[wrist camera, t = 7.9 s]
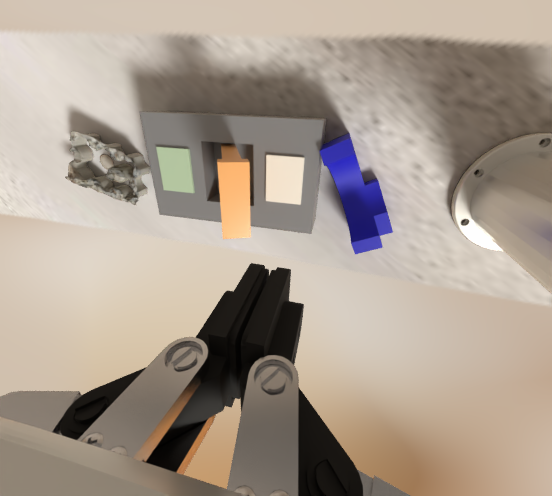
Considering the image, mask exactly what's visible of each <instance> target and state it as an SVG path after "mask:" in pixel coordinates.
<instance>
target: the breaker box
mask: <svg viewBox="0 0 552 496" xmlns="http://www.w3.org/2000/svg"><path fill="white" fill-rule="evenodd" d="M140 116H141V121H142V127H143V132H144V137H145V142H146V147H147V152H148V157H149V162H150V167H151V173H152V178H153V183H154V188H155V193H156V198H157V203H158V208H159V213H160V215H168V216H175V217H183V218H191V219H199V220H207V221H215V222H222V219H221V205H220V192H219V178H218V164H217V159H222V152H221V144H235V145H236V147H237V150H238V152H239V154H240V156H241V159H248V160H249V163H250V225H251V226H254V227H262V228H270V229H277V230H285V231H293V232H301V233H309V234H311V233H312V229H313V225H314V221H315V217H316V208H317V199H318V190H319V182H320V173H321V164H322V157H321V154H320V149H321V148H322V146H323V144H324V137H325V128H326V120H327V118H307V117H285V116H262V115H240V114H217V113H195V112H172V111H151V112H140Z"/></svg>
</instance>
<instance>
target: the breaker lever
mask: <svg viewBox="0 0 552 496" xmlns="http://www.w3.org/2000/svg"><path fill="white" fill-rule="evenodd" d="M221 152H222V159H217V164H218V178H219V192H220V205H221V219H222V232H223V239H231V238H248V237H251V225H250V163H249V160H248V159H241V156H240V154H239V152H238V150H237V147H236V145H235V144H221Z"/></svg>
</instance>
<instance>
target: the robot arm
mask: <svg viewBox="0 0 552 496" xmlns="http://www.w3.org/2000/svg"><path fill="white" fill-rule="evenodd" d="M541 140H542V142H541V143H540V141H541ZM539 143H540V144H539ZM476 170H478V171H477V173H476V174H474V172H475V171H476ZM451 209H452V217H453V220H454V222H455V225H456V226H457V228H458V229H459V231H460V232H461V233H462V234H463V235H464V236H465V237H466V238H467V239H468V240H470V241H471V242H472V243H474V244H476V245H478V246H480V247H483V248H486V249H490V250H495V251H504V252H506V253H507V254H508V255H509V256H510V257H511V258H512V259H513V260H514V261H516V262H517V263H518V264H519V265H520V266H521V267H522V268H523V269H525V270H526V271H527V272H528V273H529V274H530V275H531V276H532V277H533V278H535V279H536V280H537V281H538V282H539V283H540V284H541V285H542V286H544V287H545V288H546V289H547V290H548V291H549V292H550V293H551V294H552V133H536V134H530V135H524V136H521V137H518V138H514V139H511V140H508V141H506V142H504V143H502V144H500V145H498V146H496V147H494V148H493V149H491V150H490V151H488V152H487V153H485V154H484V155H482V156H481V157H480V158H479V159H478V160H476V161H475V162H474V163H473V164H472V165H471V166H470V167H469V168H468V170H467V171H466V172H465V173H464V174H463V176H462V177H461V179H460V181H459V183H458V184H457V186H456V189H455V191H454V194H453V198H452V205H451ZM463 219H464V220H463ZM461 220H463V221H461ZM290 276H291V270H290V269H285V268H279V267H278V268H277V269H276V270H272V271H271V273H270V275H269V270H268V269H265V266H264V265H259V264H253V263H251V264H250V265H249V267H248V269H247V271H246V272H245V274H244V275H243V277H242V279H241V280H240V282H239V284H238V285H237V287H236V289H235V290H234V292H233V291H226V292H225V293H224V295H223V296H222V298H221V299H220V301H219V302H218V304H217V306H216V307H215V309H214V310H213V312H212V313H211V315H210V316H209V318H208V319H207V321H206V323H205V324H204V326H203V327H202V329H201V330H200V332H199V333H198V335H197V336H196V338H194V337H186V338H182V339H178V340H176V341H174V342H172V343H171V344H169V345H168V346H167V347H166V348H165V349H164V350H163V351H162V352H161V353H160V354H159V355H158V356H157V357H156V358H155V359H154V360H153V361H152V362H151V363H150V365H148V367H146V368H144V369H142V370H139V371H136V372H134V373H132V374H129V375H127V376H124V377H122V378H120V379H117V380H115V381H112V382H110V383H107V384H106V385H103V386H100V387H98V388H95V389H93V390H91V391H89V392H87V393H85V394H83V395H81V394H80V392H79V391H74V392H73V391H18V392H11V393H8V394H6V395H3V396H1V397H0V496H410V495H408V494H407V493H405V492H403V491H401V490H399V489H398V488H396V487H394V486H392V485H390V484H389V483H387V482H385V481H383V480H381V479H380V478H378V477H376V476H374V477H373V478H371V477H369V476H367V475H366V474H364V473H362V472H360V471H359V470H357V469H356V467H355V465H354V463H353V462H352V460H351V459H350V458H349V456H348V455H347V453H346V452H345V451H344V449H343V448H342V447H341V445H340V444H339V443H338V441H337V440H336V438H335V437H334V436H333V434H332V433H331V432H330V430H329V429H328V427H327V426H326V425H325V423H324V422H323V420H322V419H321V418H320V416H319V415H318V414H317V412H316V411H315V409H314V408H313V407H312V405H311V404H310V402H309V401H308V400H307V398H306V397H305V395H304V394H303V393H302V391H301V390H300V389H299V387H298V373H297V370H296V368H295V366H294V363H295V358H296V353H297V347H298V342H299V337H300V331H301V325H302V317H303V308H304V304H301V303H295V302H290V301H289V290H290ZM240 397H241V417H240V423H239V428H238V434H237V439H236V444H235V450H234V454H233V460H232V465H231V471H230V476H229V481H228V486H227V489H224V488H221V487H218V486H215V485H212V484H209V483H206V482H203V481H200V480H197V479H194V478H191V477H188V476H185V475H183V474H184V472H185V471H186V469H187V467H188V465H189V464H190V462H191V460H192V458H193V457H194V455H195V453H196V451H197V450H198V448H199V446H200V444H201V443H202V441H203V439H204V437H205V436H206V434H207V432H208V431H209V429H210V427H211V425H212V424H213V421H214V419H215V416H216V414H217V413H219V412H221V411H223V409H224V407H225V406H228V407H232V405H233V402H234V399H235V398H237V399H240Z"/></svg>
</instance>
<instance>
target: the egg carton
mask: <svg viewBox="0 0 552 496" xmlns="http://www.w3.org/2000/svg"><path fill="white" fill-rule="evenodd" d="M70 141H71V142H72V147H71V149H70V152H74V160H73V161H71V162H70V163H69V166H68V171H69V172H68V177H65V178H66V179H68V180H71V182H73V183H76V184H78V185H79V186H82V187H85V188H92V189H94V190H96V191H97V192H99V193H104V194H106V195H108V196H111V197H112V198H114V199H118V200H121V201H126V202H131V203H132V204H134V205H136V202H137V201H138V197H140V196H143V195H145V194H147V192H148V188H147V187H146V186H145V185H144V184H143V183H142V180H141V177H142V175H145V174H148V173H149V172H150V167H149V166H148V165H147V164H146V163H145V161H144V158H143V155H141V154H139V153H133V154H129V155H125V153H124V152H123V150H122V146H121V145H120V144H117V143H111V144H103V143H102V141H101V139H100V136H99V135H98V134H95V133H90V134H82V133H79V132H76V131H73V132H71V138H70ZM87 141H88V142H89V146H91V147H92V148H94V149H96V151H98V150H102V149H105V150H107V151H109V152H110V156H108V155H106V154H103V155H101V157H100V162H101V164H102V166H103V167H104V168H105V169H107V170H108V173H107V174H106V176H100V177H95V176H94V174H93V172H92V170H91V169H90V168H88V167H87V161H91V160H93V158H94V155H93V151H92V150H91V148H90V147H89V146H87V144H86V142H87ZM111 157H114V160H116V161H122V160H126V162H132V163H133V164H134V165H135V167H134V169H133V168H132V166H130V165H129V164H120V165H116V166H114V162H113V160H112V158H111ZM128 180H129V185H132V189H133V190H134V193H133V191H132V189H131V188H130V187H129V186H128V185H120V186H117V187H116V186H114V184H113V181H116V182H119V183H122V182H125V181H128ZM135 195H136V196H135Z"/></svg>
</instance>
